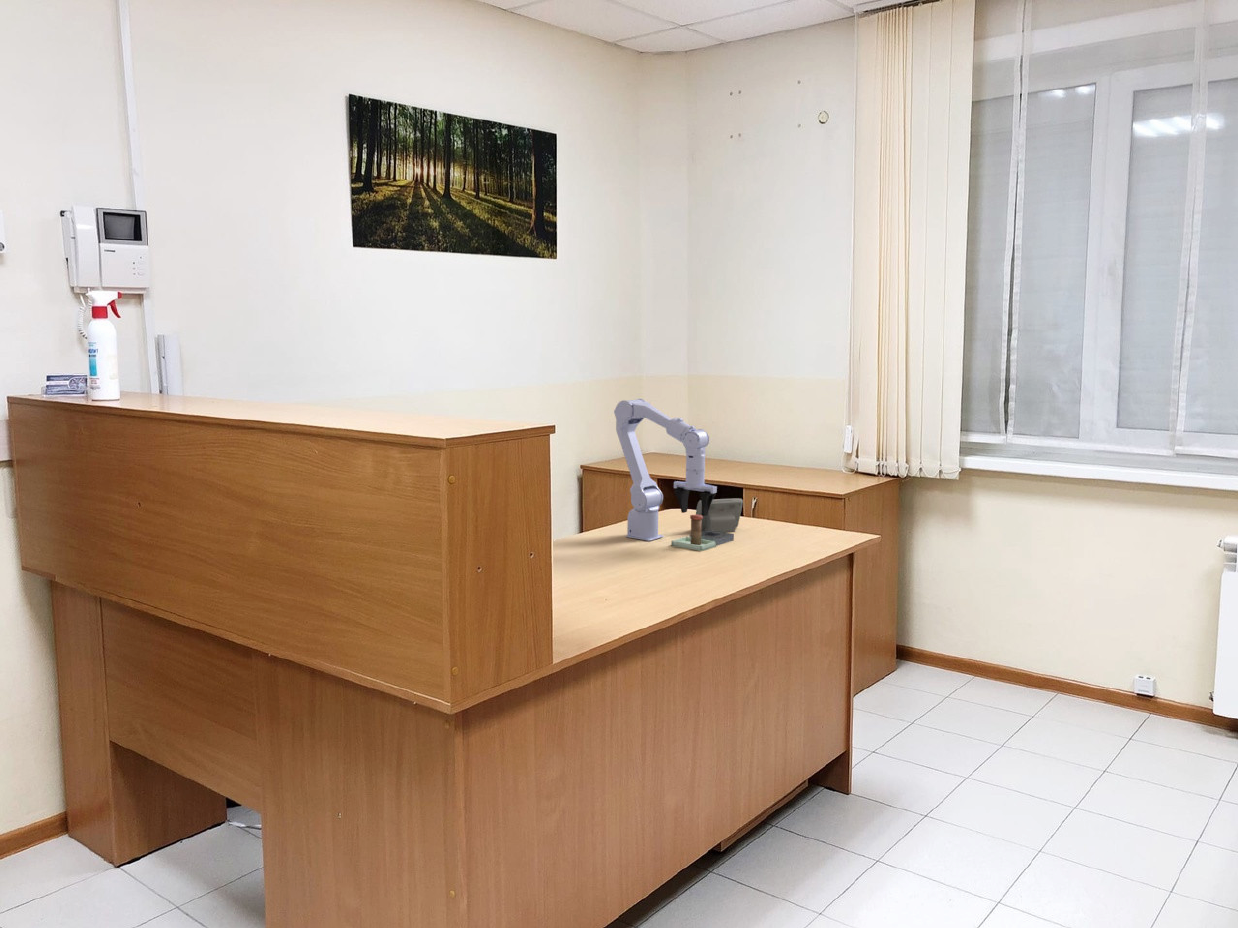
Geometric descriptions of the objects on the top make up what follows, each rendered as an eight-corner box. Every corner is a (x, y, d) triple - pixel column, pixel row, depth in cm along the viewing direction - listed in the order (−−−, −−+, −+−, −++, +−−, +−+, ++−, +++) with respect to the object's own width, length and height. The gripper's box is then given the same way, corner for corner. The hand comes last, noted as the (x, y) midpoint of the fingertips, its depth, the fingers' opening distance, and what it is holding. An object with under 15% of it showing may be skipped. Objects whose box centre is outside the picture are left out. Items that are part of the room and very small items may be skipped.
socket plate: (689, 541, 310) (689, 534, 309) (707, 535, 317) (707, 529, 317) (716, 545, 303) (716, 539, 303) (733, 540, 311) (733, 534, 311)
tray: (671, 545, 303) (671, 540, 303) (686, 541, 309) (686, 536, 309) (701, 551, 296) (701, 546, 296) (715, 546, 302) (716, 541, 302)
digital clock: (738, 527, 331) (739, 496, 330) (745, 533, 322) (746, 500, 321) (691, 528, 329) (691, 496, 328) (696, 533, 320) (697, 501, 319)
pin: (687, 544, 303) (687, 515, 302) (694, 542, 306) (694, 514, 305) (697, 546, 301) (698, 517, 299) (704, 543, 304) (705, 515, 302)
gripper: (668, 468, 301) (667, 512, 303) (707, 473, 292) (706, 519, 294) (681, 466, 307) (680, 509, 309) (721, 471, 298) (719, 515, 300)
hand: (694, 513), depth 302 cm, fingers open, 7 cm apart
